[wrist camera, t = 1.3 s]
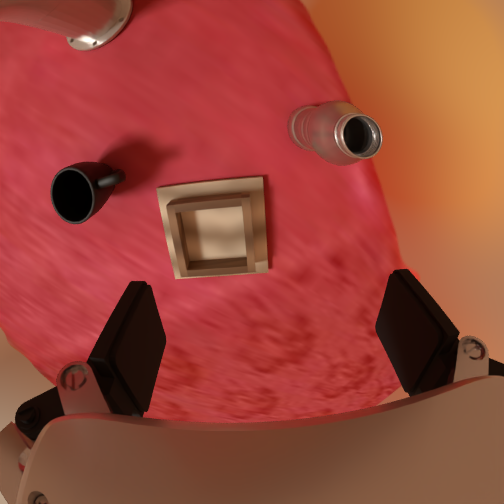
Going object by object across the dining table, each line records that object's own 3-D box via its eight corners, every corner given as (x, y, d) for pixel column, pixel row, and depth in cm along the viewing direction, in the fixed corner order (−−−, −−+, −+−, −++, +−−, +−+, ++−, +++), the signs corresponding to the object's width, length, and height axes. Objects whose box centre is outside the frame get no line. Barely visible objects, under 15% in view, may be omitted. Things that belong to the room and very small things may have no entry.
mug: (149, 192, 40) (125, 212, 31) (90, 208, 40) (60, 229, 32) (137, 142, 36) (109, 150, 28) (77, 163, 37) (44, 177, 28)
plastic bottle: (307, 97, 34) (364, 79, 16) (337, 131, 36) (410, 146, 18) (275, 124, 36) (304, 127, 18) (306, 158, 38) (357, 193, 20)
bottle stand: (158, 187, 39) (150, 193, 36) (262, 175, 39) (264, 181, 36) (176, 275, 47) (171, 288, 43) (267, 269, 47) (269, 282, 43)
